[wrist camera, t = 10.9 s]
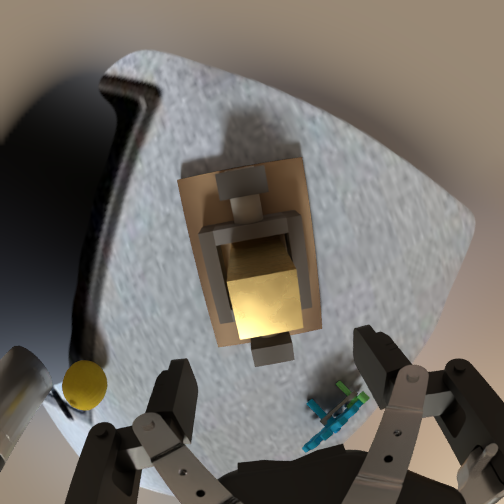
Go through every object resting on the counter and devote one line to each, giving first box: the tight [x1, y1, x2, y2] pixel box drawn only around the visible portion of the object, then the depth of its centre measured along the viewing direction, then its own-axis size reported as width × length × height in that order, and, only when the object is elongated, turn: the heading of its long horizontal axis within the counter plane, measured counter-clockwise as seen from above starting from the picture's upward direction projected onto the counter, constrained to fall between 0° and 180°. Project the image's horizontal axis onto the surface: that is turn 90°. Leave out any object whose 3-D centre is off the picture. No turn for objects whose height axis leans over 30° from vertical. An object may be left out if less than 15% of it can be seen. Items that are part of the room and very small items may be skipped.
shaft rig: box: [177, 157, 322, 367], centre depth 25 cm, size 11×17×6 cm, turn 10°
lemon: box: [62, 360, 107, 410], centre depth 27 cm, size 6×6×8 cm
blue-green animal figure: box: [302, 381, 370, 452], centre depth 32 cm, size 11×6×10 cm
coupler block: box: [227, 235, 303, 339], centre depth 22 cm, size 4×4×9 cm
